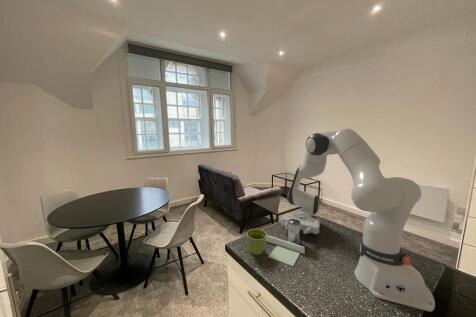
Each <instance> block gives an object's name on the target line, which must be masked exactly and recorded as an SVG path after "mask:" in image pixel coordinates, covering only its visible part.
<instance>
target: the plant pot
mask: <svg viewBox="0 0 476 317" xmlns="http://www.w3.org/2000/svg"><path fill="white" fill-rule="evenodd" d="M267 235H268V233H267V232H266V231H265V230H263V229H260V228H251V229H249V230H247V232H246V237H247V239H248V247H249V252H250V253H251V254H252V255H255V256H260V255H262V254H263V253H264V247H265V243H266V241H265V239H266V237H267Z"/></svg>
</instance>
